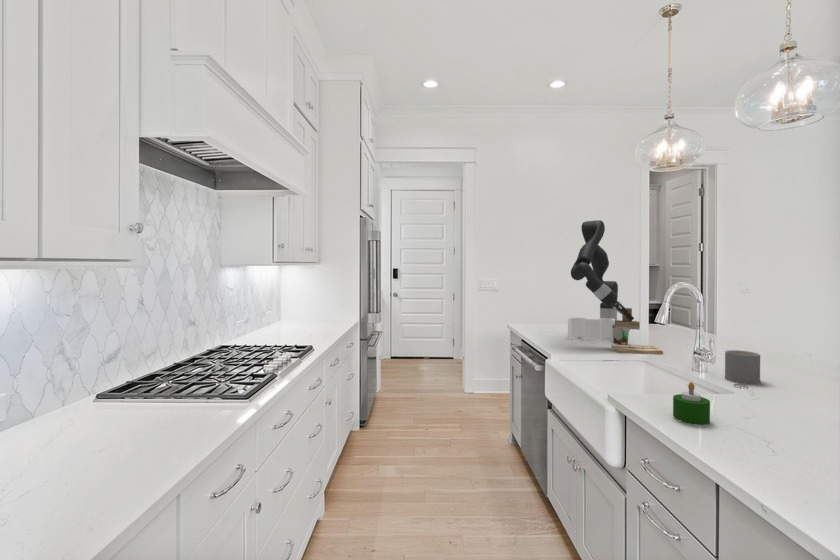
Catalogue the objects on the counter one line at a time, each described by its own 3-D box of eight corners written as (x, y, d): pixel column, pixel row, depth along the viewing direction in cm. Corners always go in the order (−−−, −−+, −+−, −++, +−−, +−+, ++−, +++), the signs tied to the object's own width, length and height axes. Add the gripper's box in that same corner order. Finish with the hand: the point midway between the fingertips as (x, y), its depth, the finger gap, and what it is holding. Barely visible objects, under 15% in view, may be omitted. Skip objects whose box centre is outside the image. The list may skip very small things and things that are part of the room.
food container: (634, 346, 216) (634, 327, 216) (622, 346, 217) (622, 327, 216) (623, 342, 229) (623, 324, 229) (612, 342, 229) (612, 324, 229)
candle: (675, 411, 117) (675, 376, 117) (711, 418, 112) (711, 381, 112) (670, 420, 111) (670, 382, 110) (708, 427, 105) (708, 388, 105)
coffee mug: (763, 385, 142) (763, 356, 142) (727, 382, 147) (727, 354, 147) (754, 376, 154) (754, 349, 154) (721, 373, 159) (721, 347, 159)
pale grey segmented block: (613, 339, 239) (613, 318, 239) (615, 342, 230) (616, 320, 230) (567, 337, 247) (567, 317, 247) (568, 340, 238) (568, 318, 238)
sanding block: (614, 327, 210) (614, 307, 209) (636, 327, 207) (636, 307, 207) (617, 328, 204) (617, 308, 204) (639, 329, 201) (639, 309, 201)
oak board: (611, 347, 214) (611, 344, 214) (654, 348, 209) (654, 345, 209) (617, 352, 200) (617, 349, 200) (663, 354, 195) (663, 351, 195)
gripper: (613, 289, 200) (641, 315, 197) (608, 288, 214) (633, 312, 211) (601, 300, 201) (629, 326, 199) (597, 298, 215) (622, 322, 212)
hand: (631, 319), depth 205 cm, fingers closed on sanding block, 3 cm apart
